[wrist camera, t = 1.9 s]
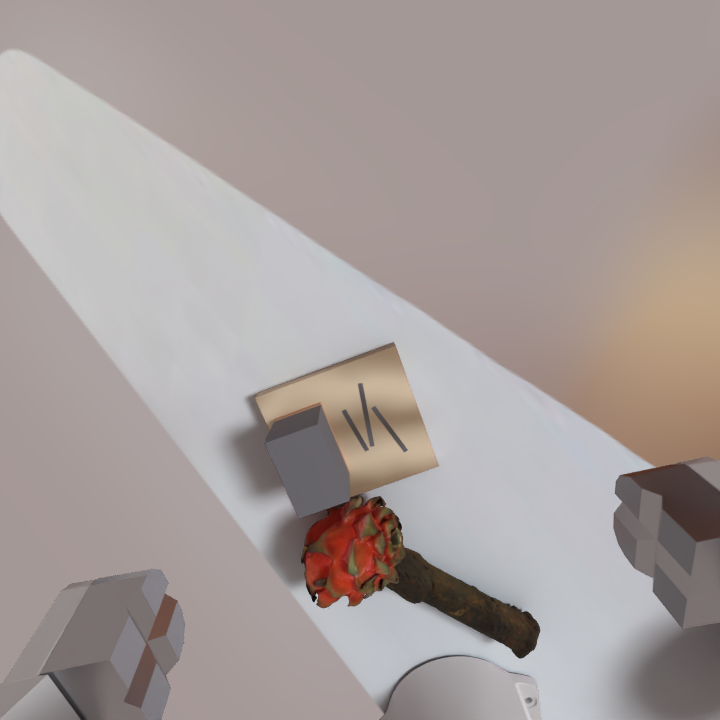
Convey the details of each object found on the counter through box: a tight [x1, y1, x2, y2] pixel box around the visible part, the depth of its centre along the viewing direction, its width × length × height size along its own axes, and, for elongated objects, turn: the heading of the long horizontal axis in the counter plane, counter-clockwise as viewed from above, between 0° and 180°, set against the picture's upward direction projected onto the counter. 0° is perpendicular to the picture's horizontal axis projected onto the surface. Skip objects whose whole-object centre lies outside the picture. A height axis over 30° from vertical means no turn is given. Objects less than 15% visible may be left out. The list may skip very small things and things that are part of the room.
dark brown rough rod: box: [386, 548, 540, 659], centre depth 43 cm, size 19×4×5 cm, turn 55°
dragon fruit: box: [301, 496, 406, 608], centre depth 40 cm, size 8×8×12 cm
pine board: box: [255, 342, 439, 497], centre depth 40 cm, size 12×13×2 cm
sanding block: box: [264, 402, 350, 519], centre depth 37 cm, size 7×4×5 cm, turn 20°
